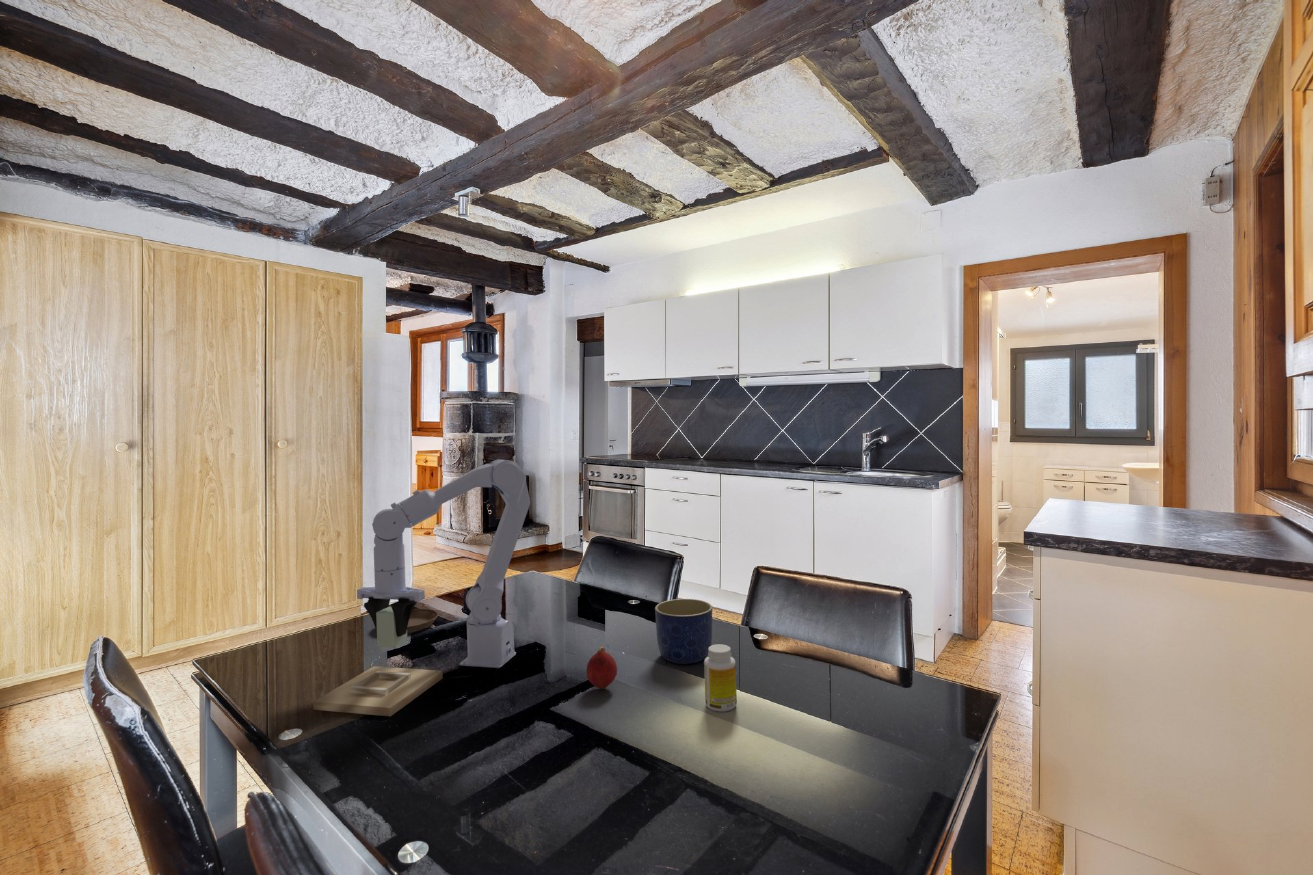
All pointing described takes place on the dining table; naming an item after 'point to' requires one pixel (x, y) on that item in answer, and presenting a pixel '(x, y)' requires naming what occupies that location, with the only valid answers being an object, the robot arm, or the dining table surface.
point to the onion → (601, 669)
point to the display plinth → (378, 691)
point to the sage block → (388, 629)
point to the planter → (684, 630)
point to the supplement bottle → (720, 679)
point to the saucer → (421, 619)
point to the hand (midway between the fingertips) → (391, 634)
